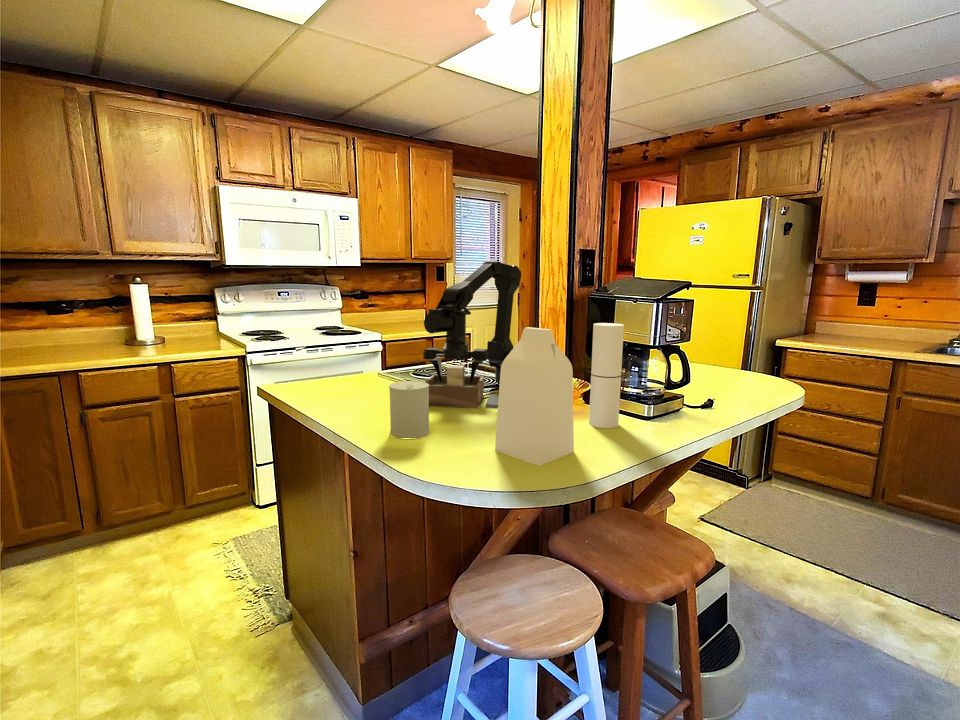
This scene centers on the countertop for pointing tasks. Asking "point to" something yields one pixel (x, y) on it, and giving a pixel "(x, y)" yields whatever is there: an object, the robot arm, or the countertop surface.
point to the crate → (455, 392)
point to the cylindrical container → (606, 374)
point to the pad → (492, 401)
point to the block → (455, 375)
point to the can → (409, 409)
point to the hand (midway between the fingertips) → (456, 382)
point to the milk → (535, 400)
